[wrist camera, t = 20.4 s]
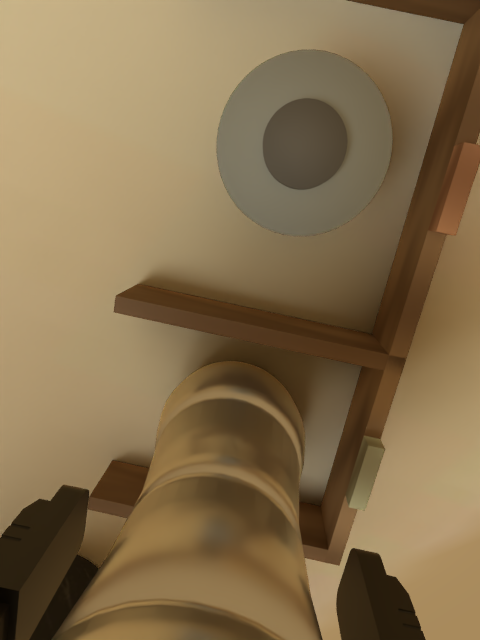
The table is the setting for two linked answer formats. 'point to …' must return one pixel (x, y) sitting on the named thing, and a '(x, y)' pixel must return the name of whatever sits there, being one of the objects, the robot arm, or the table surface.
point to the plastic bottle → (211, 523)
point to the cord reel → (304, 142)
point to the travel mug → (65, 598)
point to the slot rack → (339, 343)
